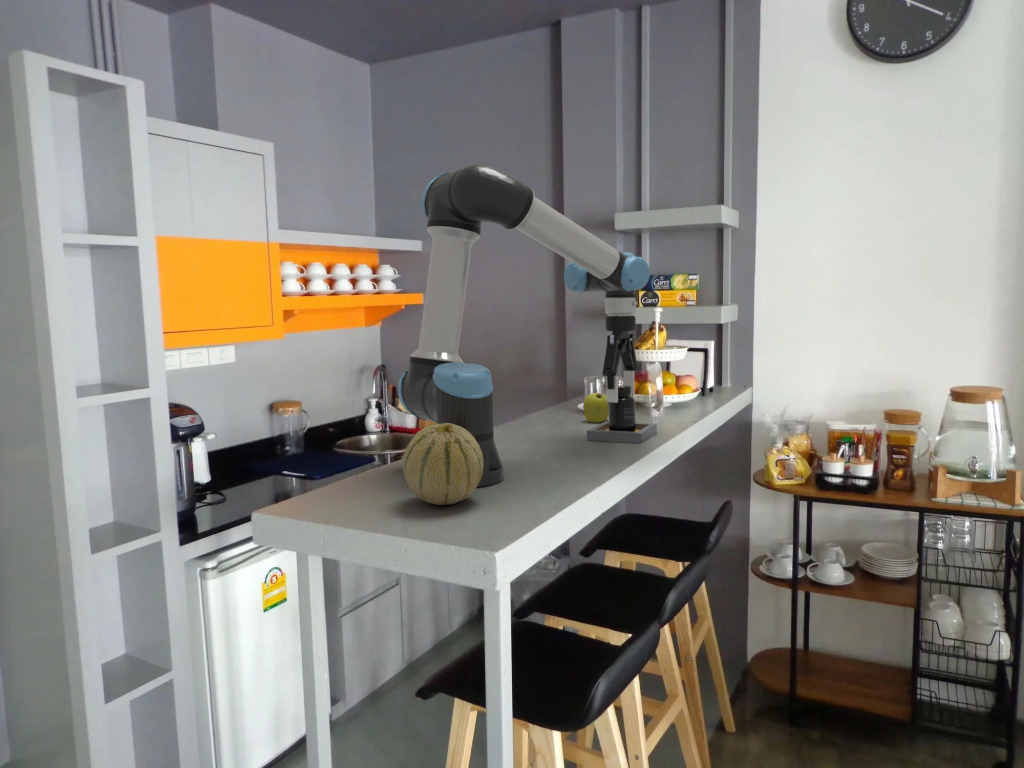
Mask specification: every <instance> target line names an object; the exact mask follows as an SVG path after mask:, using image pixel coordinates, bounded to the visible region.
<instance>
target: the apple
mask: <svg viewBox="0 0 1024 768" xmlns="http://www.w3.org/2000/svg"><path fill="white" fill-rule="evenodd" d="M598 390H600V388H598ZM582 406H583V414H584V417H585V420H586V421H588V422H590V423H597V424H598V423H603V422H605V421H608V420H607V419H609V412H608V402H606V394H605V393H604V394H603V393H600V392H592V393H590V394H588V395H587V396H586V397H585V398H584V401H583V405H582Z"/></svg>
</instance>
